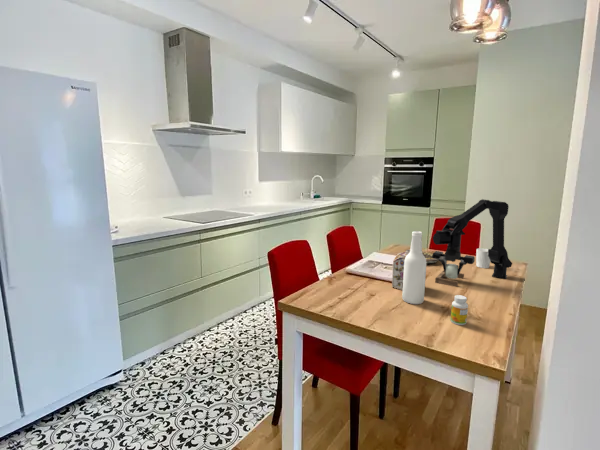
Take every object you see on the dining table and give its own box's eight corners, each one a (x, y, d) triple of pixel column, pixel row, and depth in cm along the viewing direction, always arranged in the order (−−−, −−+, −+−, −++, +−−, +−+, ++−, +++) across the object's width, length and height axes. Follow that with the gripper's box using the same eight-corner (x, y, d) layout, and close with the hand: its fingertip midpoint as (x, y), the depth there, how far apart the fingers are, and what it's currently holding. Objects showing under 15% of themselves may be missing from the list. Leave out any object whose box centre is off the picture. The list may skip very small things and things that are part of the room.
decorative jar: (425, 287, 159) (428, 250, 156) (415, 294, 151) (417, 255, 148) (402, 281, 167) (404, 246, 164) (390, 287, 159) (392, 250, 156)
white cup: (492, 269, 189) (494, 251, 187) (477, 268, 190) (478, 251, 189) (487, 265, 196) (489, 248, 195) (473, 264, 198) (474, 247, 196)
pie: (406, 253, 224) (406, 246, 223) (450, 260, 208) (450, 253, 207) (391, 263, 201) (391, 255, 200) (438, 272, 186) (439, 263, 185)
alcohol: (413, 306, 137) (417, 234, 132) (397, 299, 145) (401, 230, 140) (428, 302, 141) (433, 232, 136) (412, 295, 149) (416, 229, 144)
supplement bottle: (447, 319, 126) (449, 294, 124) (461, 318, 126) (463, 294, 125) (455, 325, 121) (457, 300, 119) (469, 325, 121) (472, 299, 119)
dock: (443, 274, 179) (443, 270, 179) (463, 277, 173) (464, 273, 173) (435, 282, 166) (435, 278, 166) (456, 286, 160) (457, 282, 160)
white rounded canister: (446, 274, 173) (447, 263, 172) (458, 276, 169) (459, 264, 168) (444, 277, 168) (445, 265, 167) (456, 279, 165) (457, 267, 164)
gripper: (430, 243, 165) (428, 274, 168) (471, 249, 154) (469, 281, 157) (436, 240, 174) (434, 269, 177) (476, 245, 163) (473, 275, 166)
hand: (451, 273), depth 169 cm, fingers closed on white rounded canister, 6 cm apart
